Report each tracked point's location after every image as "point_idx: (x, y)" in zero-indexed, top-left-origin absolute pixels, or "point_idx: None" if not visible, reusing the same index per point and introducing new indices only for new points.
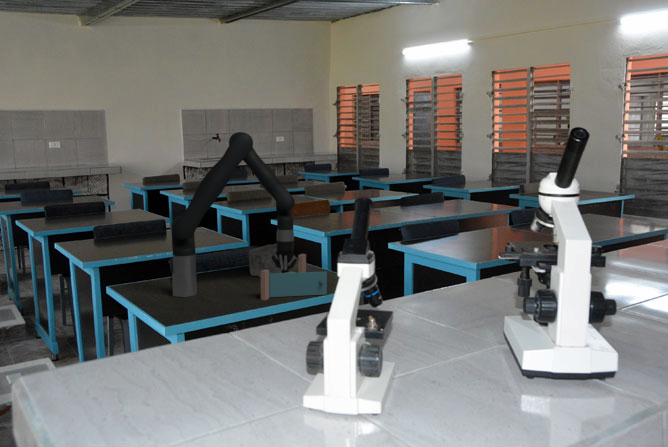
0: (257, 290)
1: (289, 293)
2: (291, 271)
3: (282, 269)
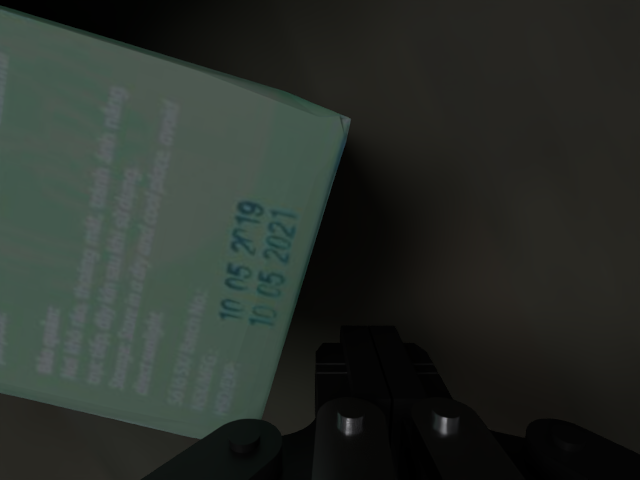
0: (607, 11)
1: None
2: None
3: (431, 402)
